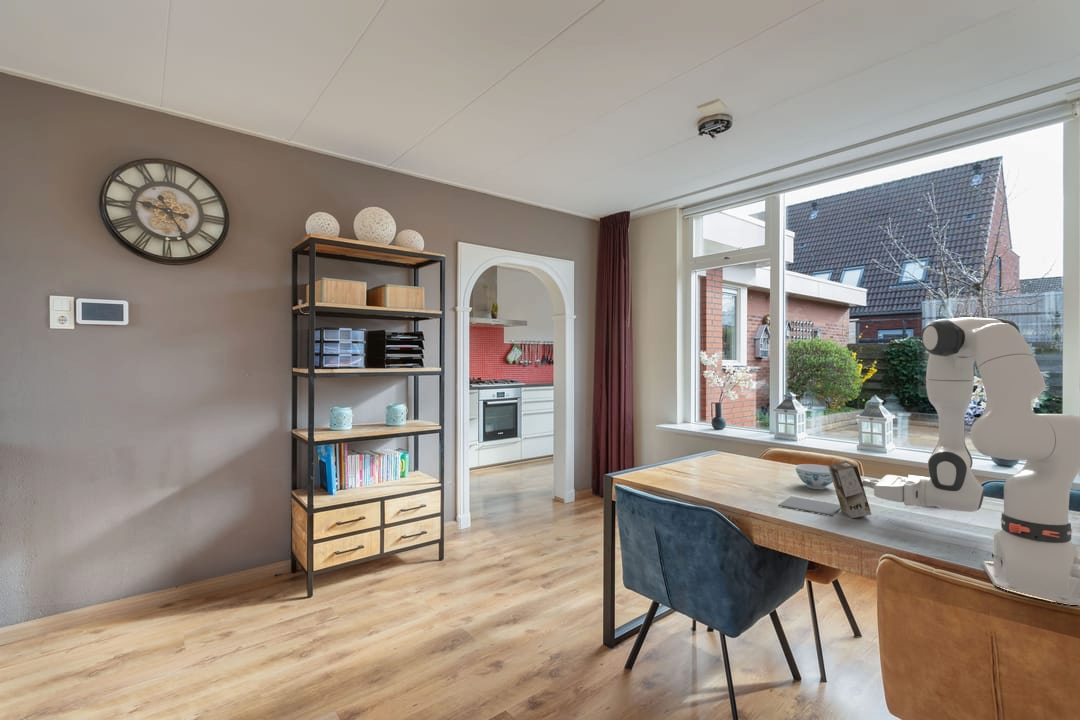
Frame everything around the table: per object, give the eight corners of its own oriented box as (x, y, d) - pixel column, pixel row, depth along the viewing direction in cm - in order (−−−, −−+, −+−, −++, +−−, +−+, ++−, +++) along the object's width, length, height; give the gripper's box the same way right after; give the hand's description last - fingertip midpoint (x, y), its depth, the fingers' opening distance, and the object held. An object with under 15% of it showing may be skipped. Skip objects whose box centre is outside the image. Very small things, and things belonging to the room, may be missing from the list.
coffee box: (872, 514, 164) (858, 466, 165) (851, 518, 165) (837, 470, 166) (860, 506, 173) (847, 460, 173) (840, 510, 174) (827, 464, 175)
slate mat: (832, 516, 168) (832, 514, 168) (778, 506, 179) (778, 504, 179) (843, 507, 178) (843, 505, 178) (791, 498, 189) (791, 496, 189)
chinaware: (825, 482, 212) (824, 464, 212) (845, 492, 197) (845, 472, 197) (788, 482, 212) (788, 464, 212) (806, 492, 197) (806, 472, 197)
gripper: (919, 473, 166) (870, 467, 175) (909, 486, 151) (856, 478, 160) (919, 493, 166) (870, 485, 175) (909, 507, 151) (856, 498, 160)
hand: (863, 482), depth 168 cm, fingers closed
